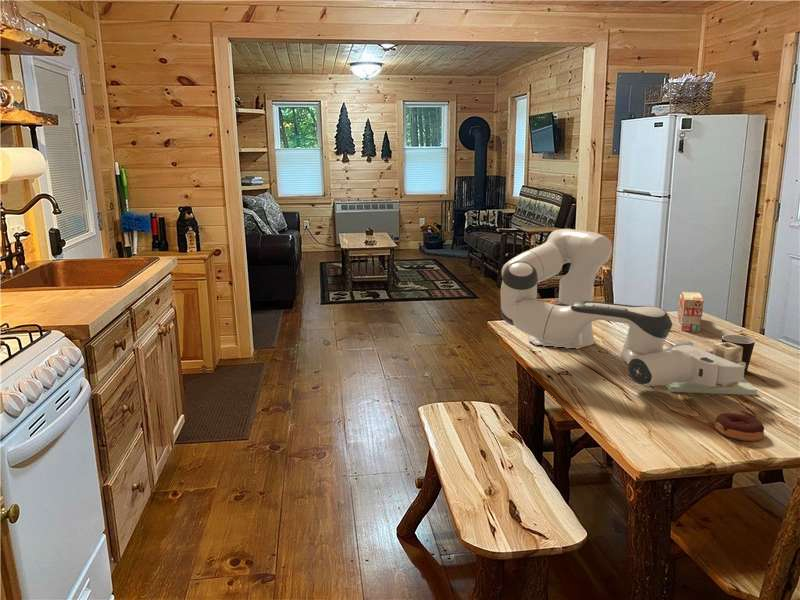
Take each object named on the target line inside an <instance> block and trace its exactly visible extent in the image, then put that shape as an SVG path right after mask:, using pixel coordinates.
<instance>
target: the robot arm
mask: <svg viewBox="0 0 800 600" xmlns="http://www.w3.org/2000/svg"><path fill="white" fill-rule="evenodd" d="M612 253H613V243H612V241H611V240H610V238H608V236H605V235H603V234H600V233H598V232H595V231H587V230H579V229H574V228H559V229H555V230H553V231H551V233H550V234H549V235H548V237H547V239H546V241H545V242H544V243H541V244H540V245H537V246H535V247H533V248H531V249H528V250H526V251H523V252H521V253H520V254H518V255H516V256H514V257H512V258H511V259H509V260H508V261H507V262H506V263H504V264H503V266H502V268H501V277H502V278H501V279H502V281H501V286H500V309H499V311H500V315H501V318H502V320H504V322H506V323H508V324H509V325H511V326H514V327H515V328H516V329H517V330H519V331H521V332H522V333H525V334H527V335H528V337H529V340H530V342H532V343H533V344H536V345H543V346H542V347H545V346H554V347H553V348H557V347H566V348H565V349H569V348H576V349H575V350H581V349H583V348H585V346H586V347H588V346H589V347H590V346H592V345H594V344H595V339H594V338H595V337H594V333H593V322H594V321H595V322H596V321H606V322H614V323H622V324H627V325H628V326H629V327H628V331H627V334H626V338H625V340H624V344H623V346H622V351H621V354H620V355H621V358H622V361H623V362H624V363H625V365H626V366H627V369H628V370H627V371H628V374H629V376H630V378H631V380H632V381H633V382H634V383H636V384H638V385H639V386H645V387H658V386H659V387H662V386H665V385H669V384H672V383H674V382H677V383H683V382H688V383H697V384H701V385H705V386H709V387H713V386H715V385H716V383H718V384H726V383H732V382H737V381H741V380H742V379H743V378H744V377H745V374H744V369H745V367H746V363H745V362H742V361H736V363H734V362H731V361H729V360H726V359H724V358H721V357H719V356H716V355H714V354H712V353H713V349H711V350H707V349H706V350H705V349H700V348H698V347H695V346H694V345H693V346H691V345H682V346H677V347H674V348H672V349H671V351H664V350H665V349H663V348H664V346H665V342H666V340H667V337H668V335H669V333H670V331H671V330H672V327H673V322H672V320H671V318H670V316H669V314H668V313H667V311H665V309H663V308H661V307H658V306H655V305H654V306H653V305H631V304H630V305H629V304H620V303H614V302H613V303H612V302H605V301H595V300H594V301H593V294H594V284H595V279H596V275H597V274H598V272H599V270H600V268H601V267H602V266H603V265H604V264H606V263H608V261H609V260H610V258H611V256H612ZM568 263H569V264H570V266H569V270H568V272H567V273H566V274H564V275H562V276H561V278H560V279H559V287H558V288H559V292H558V300H555V299H552V300H551V301H550V302H546V301H540V300H538V299H537V298H538V294H537V292H538V283H540V282H543V281H545V280H547V279H549V278H551V277H554V276H556V275H558V274H559V273H560V272H561V271H562V268H563V265H565V264H568ZM529 340H528V341H529ZM530 342H529V343H530ZM533 344H532V345H533ZM582 347H583V348H582ZM580 348H581V349H580Z"/></svg>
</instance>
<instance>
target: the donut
mask: <svg viewBox="0 0 800 600" xmlns="http://www.w3.org/2000/svg"><path fill="white" fill-rule="evenodd" d="M714 422H715V423H714V427H715V428H714V429H716V430H717V431H718V432H719V433H721V434H722V435H723V436H725V437H728V438H732V439H735V440H739V441H745V442H757V441H760V440H762V439H764V437H765V427H764V424H763V423H762V422H761V421H760V420H758V419H757V418H756V417H754V416H751V415H749V414H748V415H746V414H741V413H733V412H725V413H724V412H723V413H719V414H718V416H716V418H715V421H714Z"/></svg>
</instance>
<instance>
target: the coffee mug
mask: <svg viewBox="0 0 800 600" xmlns="http://www.w3.org/2000/svg"><path fill="white" fill-rule="evenodd" d="M724 342H730V343H733V344H735V345H738V346H741V347H743V352H742V360H741V361H742V362H745V363H746V367H745V369H744V375H746V374H747V372H748V369H749V366H750V362H751V357H752V354H753V351H754V346H755V343H756V340H755V339H754V338H753V337H750V336H746V335H740V334H725V335H722V336H721V343H724Z"/></svg>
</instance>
